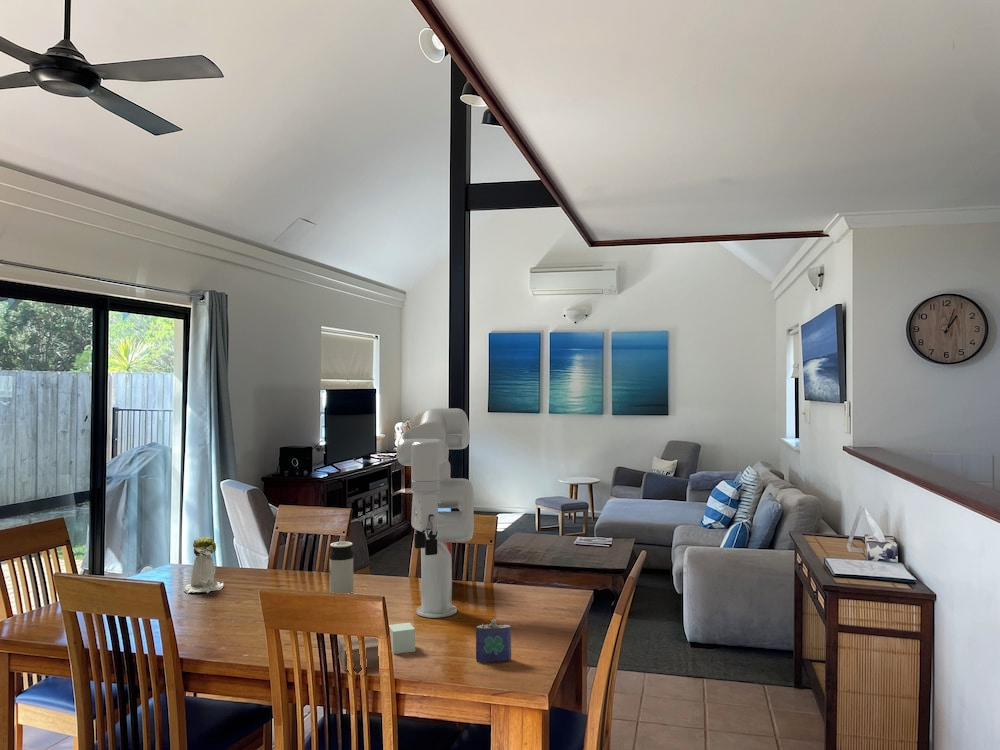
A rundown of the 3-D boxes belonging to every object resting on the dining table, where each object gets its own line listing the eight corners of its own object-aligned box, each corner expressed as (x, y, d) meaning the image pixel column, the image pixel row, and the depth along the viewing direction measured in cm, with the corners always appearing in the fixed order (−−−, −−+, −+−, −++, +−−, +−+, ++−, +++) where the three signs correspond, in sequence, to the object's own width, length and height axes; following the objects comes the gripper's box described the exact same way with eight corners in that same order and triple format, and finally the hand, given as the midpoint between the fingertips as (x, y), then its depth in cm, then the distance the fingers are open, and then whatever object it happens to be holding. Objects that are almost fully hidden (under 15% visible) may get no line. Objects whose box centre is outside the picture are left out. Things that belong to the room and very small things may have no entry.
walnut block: (338, 657, 196) (338, 638, 196) (376, 652, 200) (376, 633, 200) (344, 670, 187) (344, 650, 187) (384, 665, 190) (383, 645, 190)
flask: (510, 658, 194) (510, 617, 194) (512, 662, 191) (511, 620, 192) (475, 659, 193) (475, 618, 194) (476, 664, 191) (475, 622, 191)
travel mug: (356, 593, 257) (356, 541, 258) (349, 600, 249) (349, 546, 250) (334, 593, 258) (333, 541, 258) (326, 599, 250) (326, 545, 250)
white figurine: (176, 591, 262) (176, 539, 262) (206, 582, 273) (206, 532, 273) (199, 596, 256) (199, 542, 256) (229, 586, 267) (228, 535, 267)
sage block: (388, 647, 204) (388, 625, 204) (409, 644, 206) (409, 622, 206) (393, 654, 198) (393, 631, 198) (415, 651, 200) (415, 628, 200)
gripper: (403, 484, 206) (403, 546, 205) (421, 491, 190) (421, 558, 189) (429, 483, 209) (429, 544, 208) (449, 489, 193) (449, 556, 192)
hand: (425, 551), depth 199 cm, fingers open, 9 cm apart
